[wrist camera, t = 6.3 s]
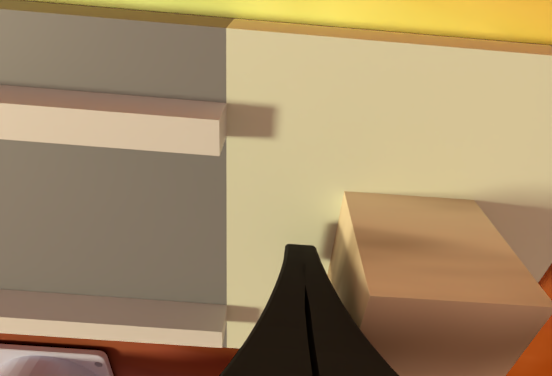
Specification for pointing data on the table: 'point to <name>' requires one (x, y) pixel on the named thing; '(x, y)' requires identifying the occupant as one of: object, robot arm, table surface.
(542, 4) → the table surface
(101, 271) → the chute board
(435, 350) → the maple block
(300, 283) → the robot arm
